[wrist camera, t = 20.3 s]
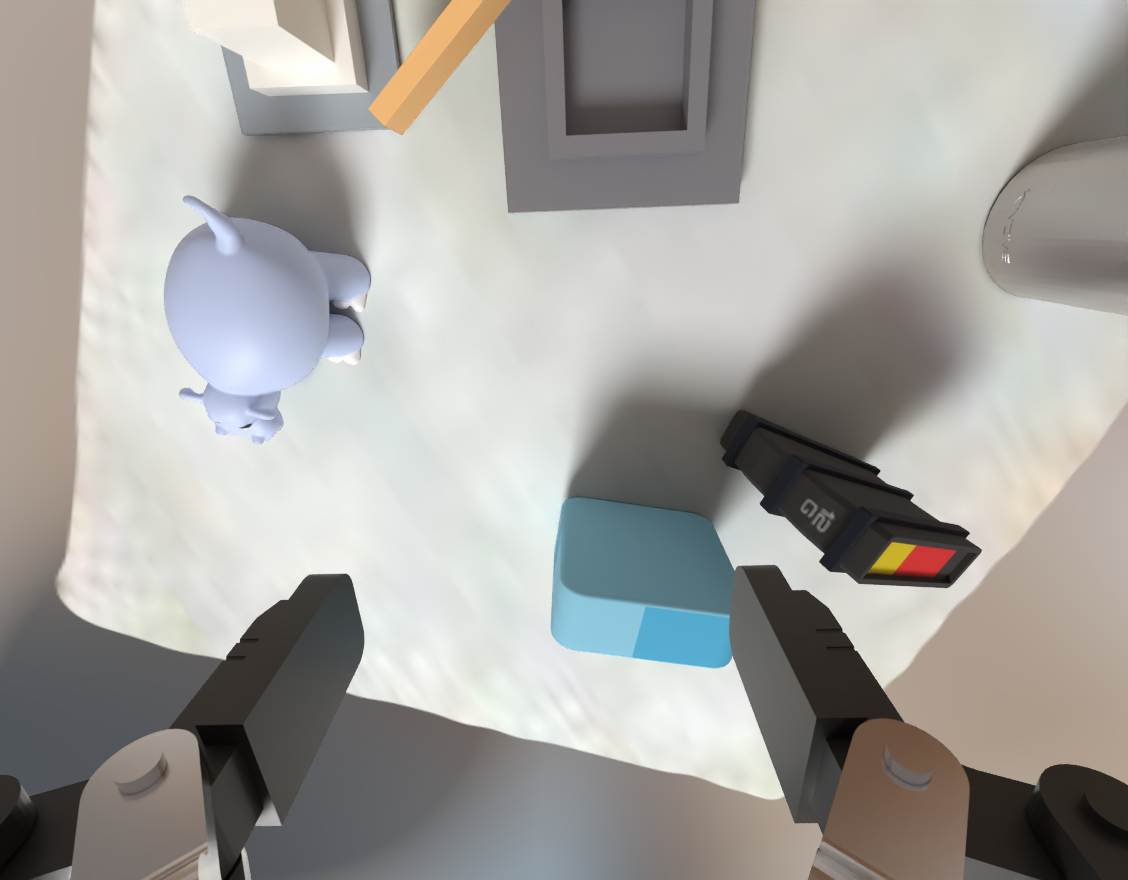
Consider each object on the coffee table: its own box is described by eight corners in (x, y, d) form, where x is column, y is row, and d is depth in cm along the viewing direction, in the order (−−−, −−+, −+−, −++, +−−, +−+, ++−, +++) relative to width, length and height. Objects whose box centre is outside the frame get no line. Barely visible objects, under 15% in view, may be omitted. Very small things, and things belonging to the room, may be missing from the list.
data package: (554, 540, 44) (549, 649, 33) (562, 493, 42) (559, 591, 31) (695, 559, 44) (737, 673, 33) (709, 513, 42) (758, 617, 31)
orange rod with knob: (593, -91, 25) (596, -130, 22) (406, 139, 29) (388, 131, 26) (570, -123, 24) (570, -167, 22) (383, 115, 28) (363, 103, 25)
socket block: (751, -82, 28) (779, -129, 24) (729, 204, 34) (749, 201, 30) (492, -68, 29) (480, -112, 25) (511, 213, 34) (504, 211, 30)
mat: (379, -85, 28) (376, -91, 28) (407, 128, 32) (405, 126, 32) (198, -75, 29) (191, -81, 28) (247, 135, 32) (242, 133, 32)
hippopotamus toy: (208, 395, 39) (103, 446, 30) (211, 180, 34) (83, 165, 25) (352, 432, 40) (291, 491, 31) (378, 228, 35) (312, 231, 26)
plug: (349, -37, 29) (272, -127, 21) (368, 92, 31) (305, 51, 24) (241, -33, 29) (128, -120, 21) (268, 96, 31) (174, 57, 24)
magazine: (707, 393, 37) (893, 530, 25) (816, 427, 44) (1001, 547, 32) (682, 438, 38) (847, 588, 26) (791, 464, 45) (960, 592, 33)
